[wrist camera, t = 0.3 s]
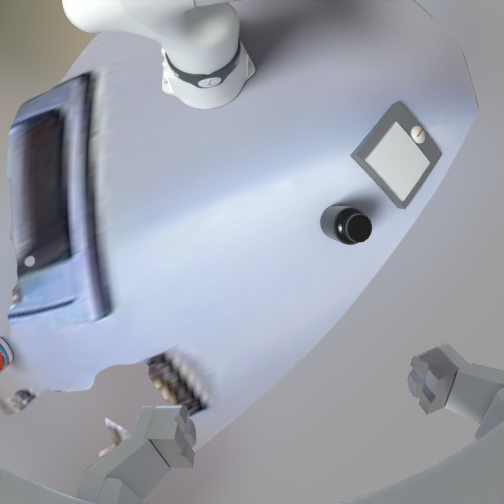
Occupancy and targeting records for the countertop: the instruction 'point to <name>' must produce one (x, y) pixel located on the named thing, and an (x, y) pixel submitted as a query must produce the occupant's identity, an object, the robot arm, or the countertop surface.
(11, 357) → the fruit juice
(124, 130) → the countertop surface
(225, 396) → the countertop surface
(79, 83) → the countertop surface
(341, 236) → the supplement bottle
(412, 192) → the kitchen scale
